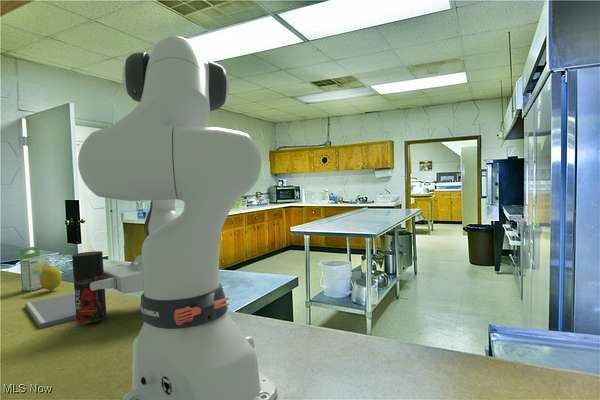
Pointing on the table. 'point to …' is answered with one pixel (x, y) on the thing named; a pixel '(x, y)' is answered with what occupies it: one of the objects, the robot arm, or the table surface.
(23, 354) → the table surface
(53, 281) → the lemon
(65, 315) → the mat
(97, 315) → the deodorant
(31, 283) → the ink box
